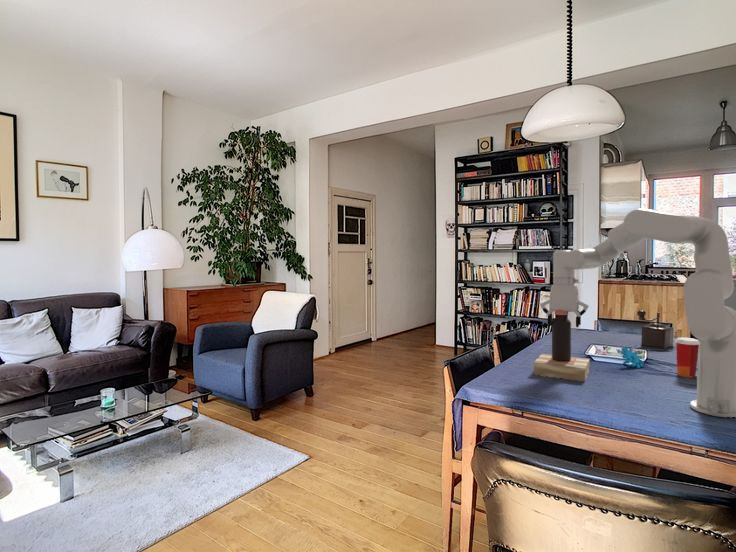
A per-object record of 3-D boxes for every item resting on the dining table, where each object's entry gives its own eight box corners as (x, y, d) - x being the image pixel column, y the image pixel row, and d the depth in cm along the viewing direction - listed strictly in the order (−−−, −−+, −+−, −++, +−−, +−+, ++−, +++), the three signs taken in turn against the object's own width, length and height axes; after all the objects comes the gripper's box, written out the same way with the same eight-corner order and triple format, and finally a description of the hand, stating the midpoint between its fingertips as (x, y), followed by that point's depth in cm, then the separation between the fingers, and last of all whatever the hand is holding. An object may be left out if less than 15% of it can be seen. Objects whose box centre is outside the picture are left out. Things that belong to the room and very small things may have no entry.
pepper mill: (649, 342, 230) (650, 307, 229) (673, 346, 221) (674, 309, 220) (633, 346, 222) (634, 310, 221) (658, 350, 213) (659, 312, 211)
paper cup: (693, 373, 174) (694, 337, 173) (702, 378, 167) (703, 341, 166) (670, 372, 176) (671, 336, 175) (678, 377, 169) (679, 340, 168)
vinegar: (567, 357, 179) (567, 307, 178) (573, 361, 172) (573, 309, 171) (549, 357, 179) (549, 307, 178) (555, 361, 173) (555, 310, 172)
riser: (584, 381, 165) (585, 367, 164) (533, 374, 174) (533, 361, 174) (589, 371, 178) (589, 358, 178) (541, 365, 188) (542, 352, 187)
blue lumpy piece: (631, 366, 179) (618, 344, 186) (621, 373, 183) (608, 352, 190) (651, 367, 183) (638, 346, 190) (640, 374, 187) (628, 354, 194)
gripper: (589, 281, 172) (589, 326, 173) (542, 281, 181) (542, 323, 182) (587, 283, 166) (587, 328, 167) (538, 282, 175) (538, 325, 176)
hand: (563, 325), depth 174 cm, fingers open, 9 cm apart
